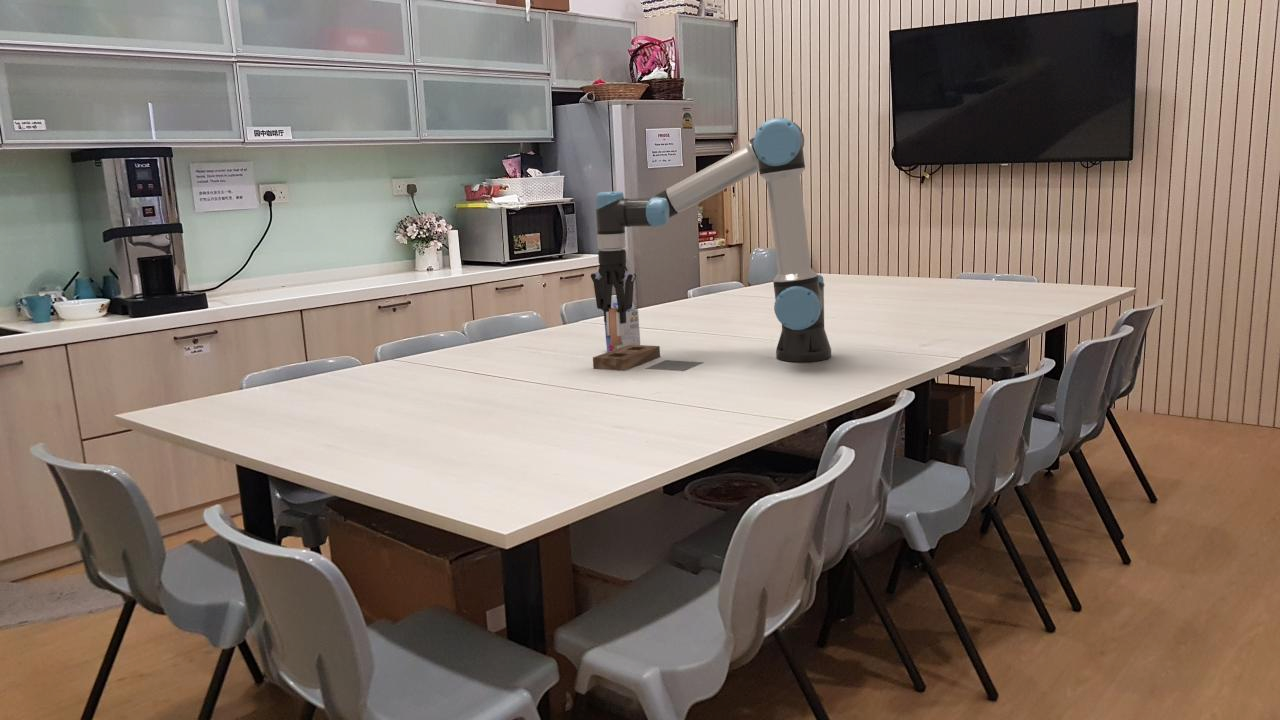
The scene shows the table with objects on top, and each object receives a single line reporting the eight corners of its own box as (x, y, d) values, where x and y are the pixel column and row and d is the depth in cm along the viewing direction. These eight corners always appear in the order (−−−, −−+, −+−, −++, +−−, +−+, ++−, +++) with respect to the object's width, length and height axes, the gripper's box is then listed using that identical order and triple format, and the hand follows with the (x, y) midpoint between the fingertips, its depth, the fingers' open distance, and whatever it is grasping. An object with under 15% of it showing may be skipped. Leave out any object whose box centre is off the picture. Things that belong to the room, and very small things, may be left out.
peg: (623, 343, 275) (621, 308, 273) (617, 345, 272) (616, 309, 270) (614, 343, 276) (612, 307, 274) (608, 345, 274) (606, 309, 272)
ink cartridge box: (629, 346, 306) (627, 300, 303) (641, 348, 302) (639, 301, 299) (605, 352, 300) (602, 304, 297) (617, 353, 296) (614, 305, 293)
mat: (704, 363, 274) (703, 362, 274) (684, 372, 264) (684, 371, 264) (665, 361, 280) (665, 360, 280) (644, 369, 270) (644, 368, 270)
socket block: (660, 358, 286) (659, 346, 285) (624, 372, 269) (624, 359, 268) (630, 356, 291) (629, 344, 290) (593, 369, 274) (592, 357, 273)
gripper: (643, 248, 269) (647, 333, 273) (595, 247, 276) (599, 331, 281) (629, 250, 262) (633, 338, 267) (580, 250, 270) (584, 335, 274)
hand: (615, 334), depth 274 cm, fingers closed on peg, 2 cm apart
